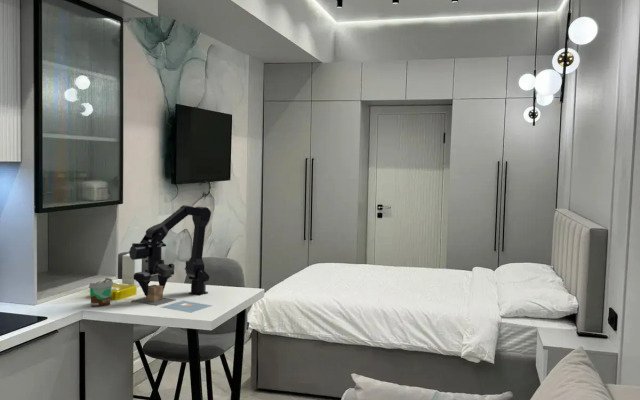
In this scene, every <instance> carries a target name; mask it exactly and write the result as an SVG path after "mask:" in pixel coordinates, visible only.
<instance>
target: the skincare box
mask: <svg viewBox="0 0 640 400" xmlns="http://www.w3.org/2000/svg"><path fill="white" fill-rule="evenodd" d="M142 261H143V259H137V260H132V259H131V258H130V255H129V252H128V253H126V254H123V255H122V261H121V263H122V270H121V272H122V274H121V275H122V277H121V284H130V285H136V286H137V288H138V287H141V286H140V285H139V283H138V281H136V280H134V274H135V273H138V272H143V271H142V269H143V268H142V266H143V264H142V263H143V262H142Z"/></svg>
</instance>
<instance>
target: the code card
mask: <svg viewBox="0 0 640 400" xmlns="http://www.w3.org/2000/svg"><path fill="white" fill-rule="evenodd" d="M210 307H213V305H211V304H205V303H200V302H193V301H187V300H180V301H178V302H174V303H169V304H166V305H163V306H161V308H162V309H167V310H172V311H178V312H185V313H194V312H198V311H200V310H204V309H206V308H210Z"/></svg>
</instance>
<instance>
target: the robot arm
mask: <svg viewBox="0 0 640 400" xmlns="http://www.w3.org/2000/svg"><path fill="white" fill-rule="evenodd" d="M179 207H180V208H178V209H177V210H176V211H174V212H173V213H171V215H169V216H168V217H167V218H166V219H164V220H163V221H161V222H160V223H157V224H155V225H153V226H150V227H149V228H147V229H146V231H145V234H144V236H143V237H142V239H141V240H140V242H137V243H136V242H133V243H131V247H130V248H129V251H128V253H129V255H130V258H131V259H132V260H137V259H142V260H144V259H145V260H144V261H145V263H147V267H146V269H144V271H142V272H138V273H135V274H134V280H136V281H138V283H139V285H140V286H139V287H140V288H141V289H142V292H143V294H144V296H145V297H146V296H148V286H149V284H150V283H151V277H156V276H157V279H158V280H157V281H158V285H159V286H163V291H164V290H165V288H166V284H167V282H168V281H169V279H170V278H172V276H174V275H175V269H176V268H175V264H174V263H169V264H165V260H164V259H162V252H163V251H162V248H163V247H167V244H166V243H164V241H163V240H164V239H165V238H166V237H167V235H168V233H169V232H170V231H171V230H172V229H173V228H174V227H175V226H177V225H178V224H179V223H181V221H183V220H184V219H186V218H187V217H188V216H191V218H192V222H193V225H194V229H193V238H192V247H191V257H190V258H189V260H186V261H185V267H184V270H185V274H186V275H187V277H188V279H189V280H190V281H191V285H190V292H188V294H189V295H195V296H202V295H205V294H208V293H209V292H208V291H206V287H207V286H206V284H207V282H208V281H209V280H210V275H209V274H208V273H207V272H206V270H205V263H204V260H203V256H204V255H203V254H204V253H203V252H204V243H205V235H206V227H207V225H208V224H209V222H210V220H211V216H212V211H211V209H210V208H208V207H206V206H195V207H194V206H190V205H186V204H185V205H184V204H183V205H181V206H179Z"/></svg>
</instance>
